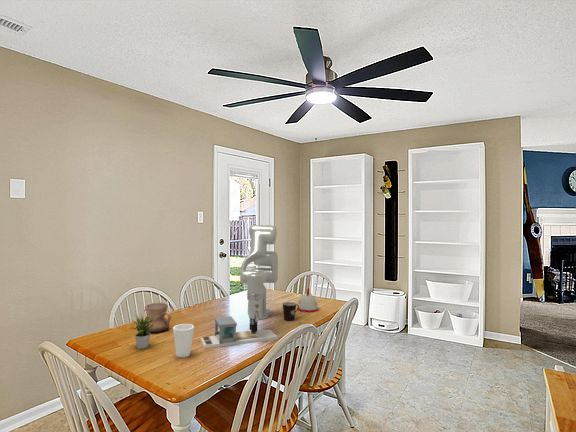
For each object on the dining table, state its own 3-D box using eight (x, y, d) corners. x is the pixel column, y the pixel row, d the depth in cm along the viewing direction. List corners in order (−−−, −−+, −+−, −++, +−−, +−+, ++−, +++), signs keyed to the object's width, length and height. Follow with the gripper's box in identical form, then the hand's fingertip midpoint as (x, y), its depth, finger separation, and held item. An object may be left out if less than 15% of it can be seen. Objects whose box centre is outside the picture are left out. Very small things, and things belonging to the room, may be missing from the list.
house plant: (157, 352, 166) (158, 317, 166) (125, 354, 162) (126, 319, 162) (159, 341, 179) (160, 309, 179) (130, 343, 175) (131, 311, 175)
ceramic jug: (134, 331, 193) (134, 306, 192) (152, 323, 206) (153, 300, 206) (160, 337, 187) (161, 310, 186) (177, 328, 200) (178, 303, 200)
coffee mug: (284, 322, 216) (284, 305, 216) (280, 317, 224) (281, 302, 224) (302, 320, 219) (302, 305, 219) (298, 316, 228) (298, 301, 228)
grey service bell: (318, 308, 251) (319, 287, 251) (316, 313, 237) (317, 291, 237) (299, 306, 253) (299, 286, 253) (296, 311, 240) (297, 290, 240)
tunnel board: (269, 331, 198) (270, 312, 197) (277, 339, 186) (278, 318, 186) (200, 339, 182) (200, 319, 182) (204, 348, 171) (205, 326, 171)
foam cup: (177, 350, 169) (178, 323, 168) (196, 351, 168) (197, 324, 167) (169, 358, 159) (169, 329, 159) (188, 359, 158) (189, 330, 158)
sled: (254, 331, 191) (254, 317, 191) (259, 336, 184) (259, 321, 184) (216, 336, 183) (216, 321, 183) (219, 341, 176) (219, 325, 176)
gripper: (265, 299, 181) (264, 334, 181) (256, 292, 196) (255, 325, 196) (251, 300, 178) (250, 336, 178) (243, 293, 193) (242, 326, 193)
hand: (253, 330), depth 187 cm, fingers closed on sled, 2 cm apart
